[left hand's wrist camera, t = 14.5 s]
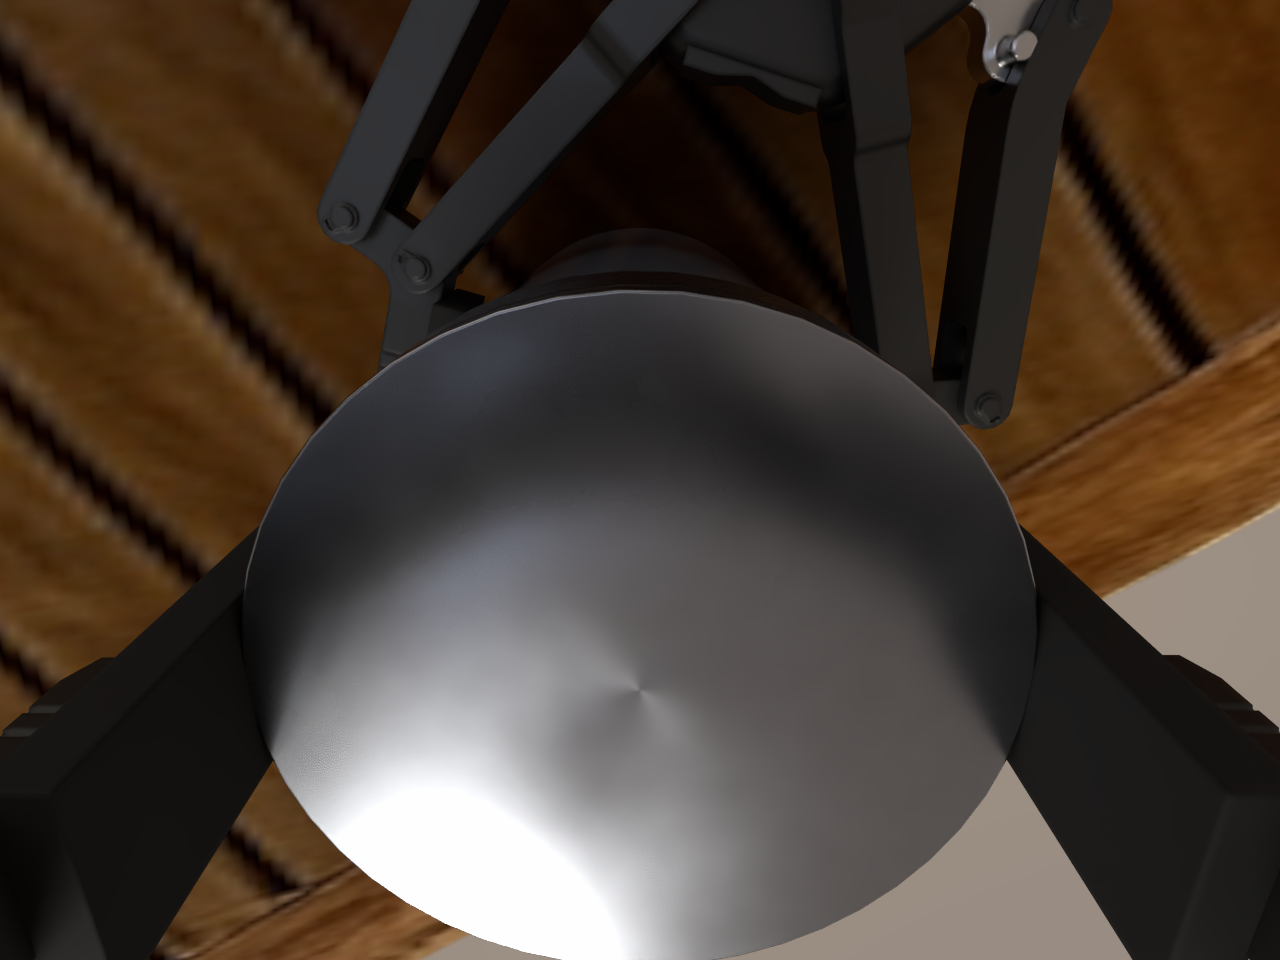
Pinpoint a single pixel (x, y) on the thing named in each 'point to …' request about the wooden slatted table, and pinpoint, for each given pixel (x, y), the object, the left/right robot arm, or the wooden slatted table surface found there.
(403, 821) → the lid
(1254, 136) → the wooden slatted table surface
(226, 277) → the wooden slatted table surface
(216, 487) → the wooden slatted table surface
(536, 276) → the jar
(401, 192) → the right robot arm
